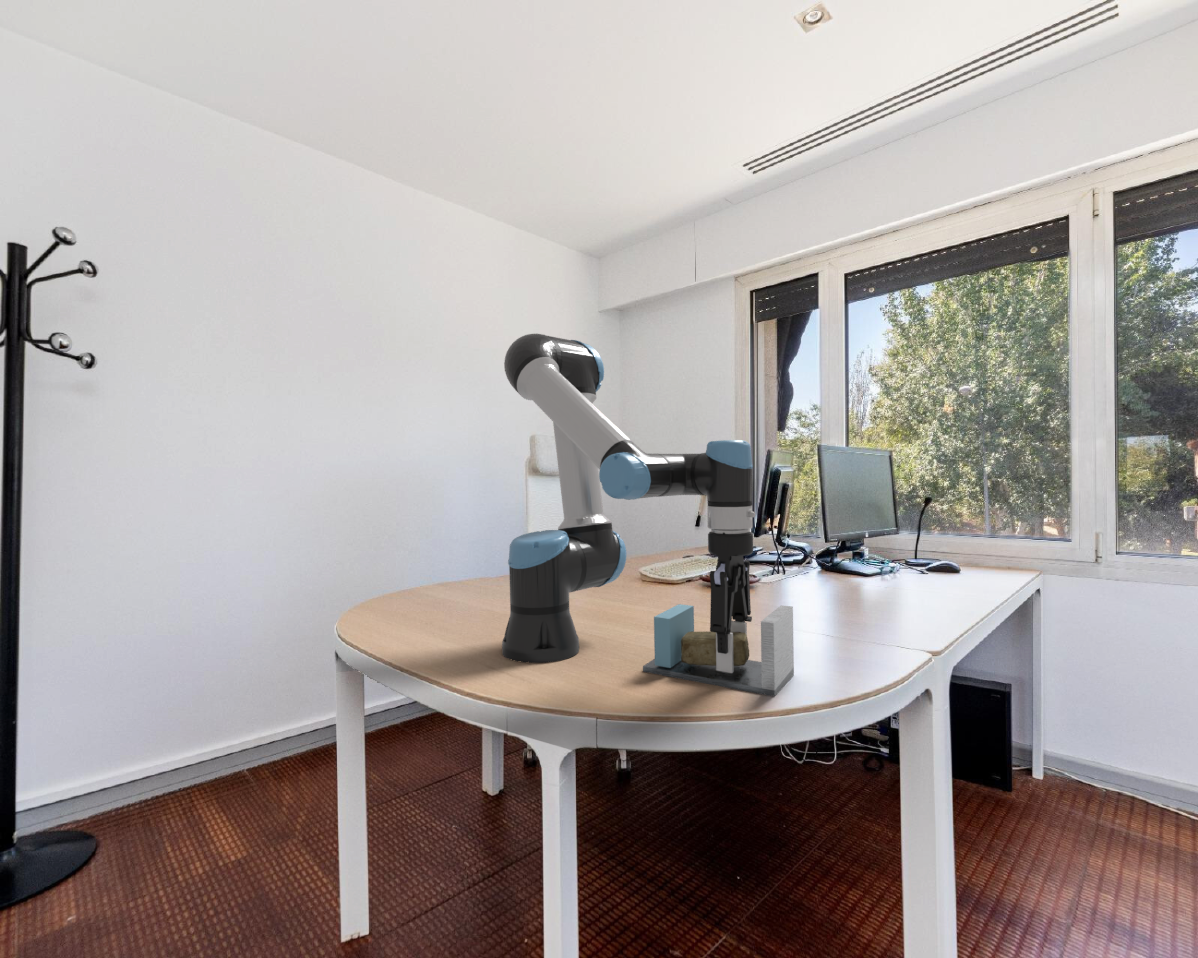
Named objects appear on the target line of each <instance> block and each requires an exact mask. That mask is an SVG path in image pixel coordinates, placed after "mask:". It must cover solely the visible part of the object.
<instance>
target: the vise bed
mask: <svg viewBox="0 0 1198 958" xmlns="http://www.w3.org/2000/svg"><path fill="white" fill-rule="evenodd" d="M760 647H761V648H760V649H761V650H760V652H761V653H760V654H761V655H760V656H761V658H760V659H761V661H757V660H751V659H748V660H747V662H746V663H745V665H741V666H734V672H733V673H728V672H723V671H717V670H716V666H708V665H689V664H687V663H683V662H682V661H680V662H678V663H677V664H675V665H674V666H673V667H671V668H668V667H662V666H657V665H655V658H654V659H651V660H650V661H649V662H648V663H645V664H644V665H642V672H644V673H647V674H652V675H658V676H663V677H664V676H665V677H669V678H674V679H680V680H685V681H691V682H694V683H702V684H706V685H711V686H717V687H721V688H722V687H723V688H726V689H732V690H738V691H743V692H748V693H754V694H760V695H765V696H770V697H776V696H777V695H778V694H779V693H780V692H781V690H782V689H783V688H784V687H785V686H786V685H787V684H788V682H789V681H790V680H791V679H792V678H793V677H794V676H795V675H794V674H795V672H794V671H795V669H794V667H795V665H794V664H795V662H794V660H795V659H794V658H795V657H794V606H789V605H780V606H778V607H777V608H776V609H774V610H773V611H772V612H771V613H770V614H768V615H767V616H765V617H764V618H763V619H762V620H761V621H760Z"/></svg>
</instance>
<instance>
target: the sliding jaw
mask: <svg viewBox="0 0 1198 958" xmlns="http://www.w3.org/2000/svg"><path fill="white" fill-rule="evenodd" d="M653 631H654V632H653V633H654V635H653V636H654V637H653V638H654V639H653V641H654V644H653V646H654V659H655V665H657V666H662V667H668V668H671V667H673V666H674V665H675V664H677V663H678V662H680V661H681V639H682V637H683V636H684V635H685V634H686V633H688V632H692V631H693V632H695V606H694V605H688V604H683V603H682V604H681V603H680V604H676V605H675V606H673V607H670V608H668V609H666V610H665V611H662V612H660V613H659V614H657V615H655V616H653Z"/></svg>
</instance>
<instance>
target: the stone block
mask: <svg viewBox="0 0 1198 958" xmlns="http://www.w3.org/2000/svg"><path fill="white" fill-rule="evenodd" d="M731 633H733V665H734V666H741V665H745V663H746V662H747V660H749V657H750V648H749V647H750V646H749V640H748V639H749V638H748V634H747V635H746V633H741V632H731ZM681 661H682V662H683V663H687V664H689V665H708V666H716V632H711V631H708V630H707V631H694V632H693V631H692V632H688V633H686V634H685V635H684V636H683V637H682V639H681Z"/></svg>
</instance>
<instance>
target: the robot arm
mask: <svg viewBox="0 0 1198 958" xmlns="http://www.w3.org/2000/svg"><path fill="white" fill-rule="evenodd" d="M507 349H508V350H507V351H506V353H505V356H504V362H503V364H504V373H505V376H506V379H507V380H508V382H509V383H510V385H511V387H512V388H513V390H515V392H516V393H518V395H520V397H522V398H523V399H524V400H526V401H527V400H528V401H533V403H535V405H536V406H537V407H538V408H539V409H540V410H541V412H543V413H544V414H545V415H546V416H547V417H548V418H549V419H550V420H551V422H552V426H553V430H554V431H553V433H554V441H555V442H554V443H555V449H556V457H557V458H556V460H557V461H556V462H557V468H558V469H557V470H558V477H559V478H558V479H559V485H560V486H559V487H560V493H561V494H560V495H561V503H562V511H563V521H562V522H561V523H560V525H559V526H558V527H557V529H546V530H541V531H537V530H536V531H532V532H528V533H524V534H521V535H518V536H516V537H515V538H514V539H512V541H511V543H510V545H509V549H508V550H509V553H508V561H507V564H508V566H509V603H510V604H509V605H510V607H509V608H510V612H509V617H508V620H507V621H508V622H507V625H506V628H505V632H504V636H503V639H502V643H501V648H502V649H501V652H502V653H501V654H502V656H503V657H504V658H505V659H507V660H510V659H512V660H511V661H513V660H515V661H514V662H518V661H521V662H520V663H526V662H529V664H546V663H556V662H560V661H565V660H567V659H570V658H572V657H573V656H576V655H577V654H578V653H579V651H580V639H579V635H578V634H577V630H576V626H575V624H574V621H573V618H572V614H571V612H570V593H574V592H578V591H582V590H587V589H591V588H600V587H603V586H605V585H608V584H610V583H612V582H615V581H616V580H617V579H618V578H619V577H620V575H621V574H622V573H623V571H624V569H625V567H626V563H627V549H626V548H627V547H626V544H625V541H624V540H623V538H621V535H620V534H619V533H618V532H616V531H614V530H613V525H612V524H613V523H612V520H611V519H609V518H608V517H607V516H606V515H605V514H604V508H603V500H602V490H603V492H604V493H605V494H606V495H608V496H609V497H610V498H613V499H617V500H628V501H629V500H637V499H638V500H639V499H647V498H655V497H656V498H657V497H658V498H660V497H674V496H706V499H707V500H706V501H707V506H706V507H707V510H706V511H707V513H706V514H707V516H706V517H707V520H706V521H707V528H708V529H709V530H710V531H709V532H708V533H707V546H708V547H707V550H708V552H709V554H711V555H713V556H716V557H717V562H716V567H715V570H710V572H709V580H710V609H709V610H710V612H709V615H710V617H709V618H710V620H709V621H710V623H709V632H716V670H717V671H723V672H728V673H733V672H734V665H733V633H731V632H741V633H746V635H747V636H748V633H747V632H748V631H747V630H748V628H747V623H748V622H749V623H752V620H753V618H752V617H753V616H751V613H752V611H751V608H752V607H751V588H750V566H751V563H750V562H751V561H750V560H745V559H744V557H745V556H750V555H752V554H753V552H754V534H753V532H751V531H750V530H751V529H753V518H755V517H756V512H754V511H753V467H754V464H753V459H752V448H751V444H750V443H749V442H748V440H743V439H742V440H741V439H725V440H724V439H722V440H721V439H720V440H712V441H709V442H708V443H706V450H705V452H701V453H647V452H645V451H644V450H642V449H641V448H640V447H639V446H637V444H636V443H635V442H634V441H632V440H631V438H629V437H628V436H627V435H626V434H625V433H624V432H623V431H622V430H621V429H620V428H619V427H618V426H616V424H614V423H613V422H612V421H611V420H610V418H608V417H607V416H606V415H605V414H604V413H603V412H602V411H600V409H598V408H597V407H596V406H595V404H593V403H595V401H596V400H597V392H598V391H599V390H600V388H601V386H602V385H603V384H602V383H601V382H602V381H604V377H605V367H604V362H603V359H602V357H601V355H600V354H599V352H598V350H596V349H595V348H594V347H593V346H592V345H590V344H587V343H584V342H582V341H581V340H580V341H579V340H576V339H567V338H562V337H561V338H560V337H558V336H557V337H556V336H550V335H546V334H542V333H528V334H524V335H522V336H520V337H518V338H517V339H516V340H514V341H513V342H512V343H511V345H509V347H508V348H507ZM601 486H602V487H601ZM601 488H602V489H601Z"/></svg>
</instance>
